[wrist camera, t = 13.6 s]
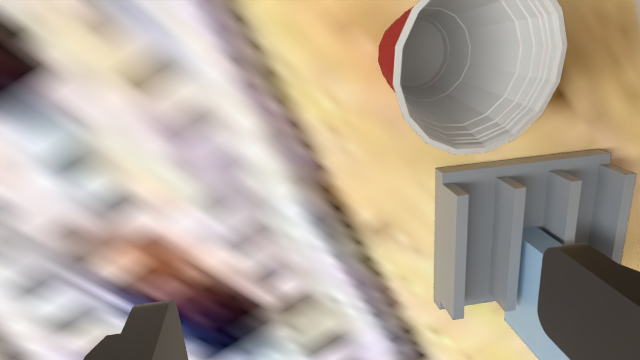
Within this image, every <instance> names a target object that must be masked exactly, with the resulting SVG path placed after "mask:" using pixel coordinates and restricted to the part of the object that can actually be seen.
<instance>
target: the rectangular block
mask: <svg viewBox="0 0 640 360" xmlns="http://www.w3.org/2000/svg"><path fill="white" fill-rule="evenodd" d="M556 246H563V245H562V244H561V243H559V242H558V241H556V240H555V239H553V238H552V237H551V236H549V235H548V234H546V233H545V232H543V231H542V230H540V229H539V228H538V227H531V228H523V232H522V244H521V255H520V267H519V278H518V290H517V301H516V310H513V311H507V312H505V317H504V320H505V321H506V322H507V324H508V325H509V326H510V327H511V328H512V329H513V330H514V332H515V333H516V334H517V335H518V336H519V337H520V339H521V340H522V341H523V342H524V343H525V344H526V345H527V347H528V348H529V349H530V350H531V351H532V352H533V354H534V355H535V356H536V357H537V358H538V359H539V360H570V359H569V358H568V357H567V356H566V355H565V354H564V353H563V352H562V351H561V350H560V349H559V348H558V347H557V346H556V345H555V344H554V342H553V341H552V340H551V339H550V338H549V337H548V336H547V335H546V333H545V332H544V330H543V328H542V326H541V324H540V321H539V318H538V312H537V305H538V295H539V286H540V276H541V267H542V258H543V254H544V252H545V251H546V249H548V248H550V247H556Z"/></svg>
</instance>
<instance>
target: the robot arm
mask: <svg viewBox="0 0 640 360" xmlns="http://www.w3.org/2000/svg"><path fill="white" fill-rule="evenodd" d="M537 312H538V318H539V321H540V324H541V326H542V328H543V330H544V332H545V333H546V335H547V336H548V337H549V338H550V339H551V340H552V341H553V342H554V344H555V345H556V346H557V347H558V348H559V349H560V350H561V351H562V352H563V353H564V354H565V355H566V356H567V357H568V358H569V359H570V360H640V272H639V271H636V270H633V269H631V268H628V267H626V266H623V265H620V264H618V263H617V262H615V261H613V260H612V259H610V258H609V257H607V256H606V255H604V254H602V253H601V252H599V251H598V250H596V249H595V248H593V247H591V246H590V245H588V244H585V243H577V244H570V245H563V246H556V247H550V248H548V249H546V251H545V252H544V254H543V258H542V267H541V276H540V286H539V295H538V305H537ZM84 360H188V356H187V351H186V347H185V342H184V337H183V333H182V328H181V323H180V319H179V314H178V309H177V306H176V303H175V302H174V301H173V300H169V301H162V302H155V303H148V304H141V305H135V306H134V307H133V308H132V310H131V312H130V314H129V316H128V319H127V321H126V323H125V326H124V328H123V330H122V332H121V334H114V335H107V336H106V337H105V338H104V339H103V340H101V341H100V342H99V343H98V344H97V345H96V346H95V347H94V348H93V349H92V350H91V351H90V352H89V353H88V354H87V355H86V356H85V358H84Z"/></svg>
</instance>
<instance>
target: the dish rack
mask: <svg viewBox="0 0 640 360" xmlns="http://www.w3.org/2000/svg"><path fill="white" fill-rule="evenodd" d="M610 158H611V153H609V152H606V151H603V150H601V149H595V150H586V151H578V152H569V153H561V154H552V155H544V156H535V157H527V158H518V159H509V160H501V161H492V162H484V163H475V164H467V165H458V166H450V167H441V168H436V184H435V255H434V302H435V303H436V305H437V306H438V308H439V309H446V310H447V312H448V313H449V315H450V316H451V318H452V319H453V320H456V319H463V318H464V306H466V305H473V304H479V303H486V302H492V301H496V302H497V303H498V304H499V305H500V306H501V307H502V308H503V310H504V311H505V312H507V311H513V310H516V301H517V290H518V278H519V267H520V255H521V244H522V232H523V228H531V227H538V228H539V229H540V230H542V231H543V232H545V233H546V234H548V235H549V236H551V237H552V238H553V239H555V240H556V241H558V242H559V243H561V244H562V245H570V244H577V243H585V244H588V245H590V246H591V247H593V248H595V249H596V250H598V251H599V252H601V253H602V254H604V255H606V256H607V257H609V258H610V259H612V260H613V261H615V262H617V263H618V264H620V265H621V260H622V254H623V248H624V242H625V237H626V231H627V225H628V219H629V214H630V208H631V202H632V196H633V190H634V185H635V179H636V173H633V172H631V171H628V170H625V169H623V168H620V167H617V166H615V165H612V164H610Z"/></svg>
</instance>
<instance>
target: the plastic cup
mask: <svg viewBox="0 0 640 360" xmlns="http://www.w3.org/2000/svg"><path fill="white" fill-rule="evenodd" d="M566 50H567V39H566V32H565V25H564V18H563V10H562V8H561V7H560V5H559V3H558V2H557V0H420V1H419V2H418V3H417V4H416V5H415V6H414V7H412V8H411V9H409V10H408V11H406V12H405V13H404V14H403V15H402V16H401V17H400V18H398V19H397V20H396V21H395V22H394V23H393V24H392V25H391V26H390V27H389V28H388V29H387V30H386V31H385V33H384V35H383V38H382V40H381V42H380V45H379V56H378V62H379V65H380V68H381V71H382V74H383V76H384V77H385V78H386V80H387V83H388V84H389V85H390V87H391V88H392V89H393V91H394V92H395V93H396V96H397V99H398V102H399V105H400V108H401V111H402V114H403V117H404V120H405V121H406V122H407V123H408V124H409V125H410V126H411V127H412V129H413V130H414V131H415V132H416V133H417V134H418V135H419V136H420V137H421V138H422V140H423V141H424V142H425V143H426V144H429V145H431V146H434V147H436V148H439V149H441V150H444V151H447V152H449V153H452V154H454V155H457V154H474V153H487V152H489V151H491V150H493V149H495V148H497V147H499V146H502V145H504V144H506V143H508V142H510V141H512V140H515V139H516V138H517V137H518V136H520V135H521V134H522V133H523V132H524V131H525V130H526V129H527V128H528V127H529V126H530V125H531V124H532V123H533V122H534V121H535V120H536V119H537V118H538V117H540V116H541V115H542V113H543V111H544V110H545V108H546V106H547V104H548V102H549V101H550V99H551V97H552V95H553V93H554V92H555V90H556V88H557V86H558V84H559V83H560V79H561V74H562V69H563V64H564V59H565V55H566Z"/></svg>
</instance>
